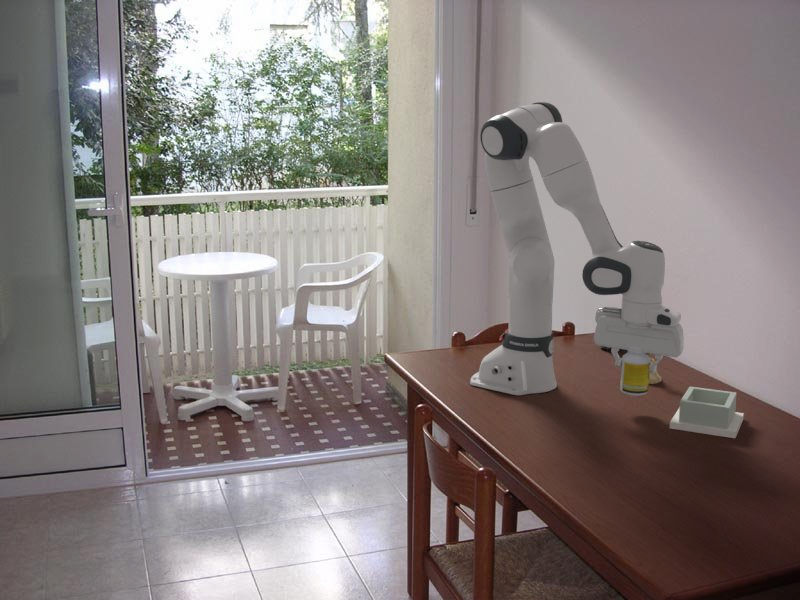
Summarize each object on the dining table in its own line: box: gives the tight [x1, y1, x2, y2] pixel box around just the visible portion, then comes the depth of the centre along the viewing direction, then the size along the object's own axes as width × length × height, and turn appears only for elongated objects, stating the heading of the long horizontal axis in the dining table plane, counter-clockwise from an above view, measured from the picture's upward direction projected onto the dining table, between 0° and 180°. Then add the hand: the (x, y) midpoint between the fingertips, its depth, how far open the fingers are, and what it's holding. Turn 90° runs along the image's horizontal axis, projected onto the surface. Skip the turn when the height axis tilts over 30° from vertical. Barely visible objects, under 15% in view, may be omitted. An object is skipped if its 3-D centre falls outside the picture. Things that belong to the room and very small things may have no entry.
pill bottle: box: [619, 346, 650, 397], centre depth 206 cm, size 6×6×12 cm
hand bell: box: [646, 353, 663, 385], centre depth 231 cm, size 8×8×16 cm
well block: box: [669, 386, 745, 439], centre depth 200 cm, size 14×13×6 cm
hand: (635, 368), depth 206 cm, fingers closed on pill bottle, 6 cm apart
